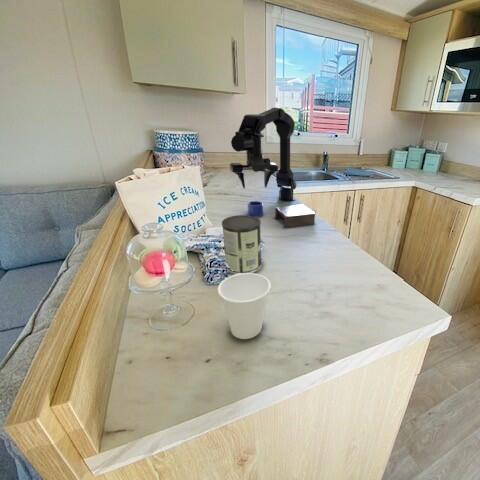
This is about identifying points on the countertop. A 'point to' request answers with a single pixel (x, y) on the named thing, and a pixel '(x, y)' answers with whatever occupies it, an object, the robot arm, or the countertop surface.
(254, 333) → the cup
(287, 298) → the countertop surface
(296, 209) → the white-topped brown block
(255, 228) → the coffee can
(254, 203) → the ramekin
